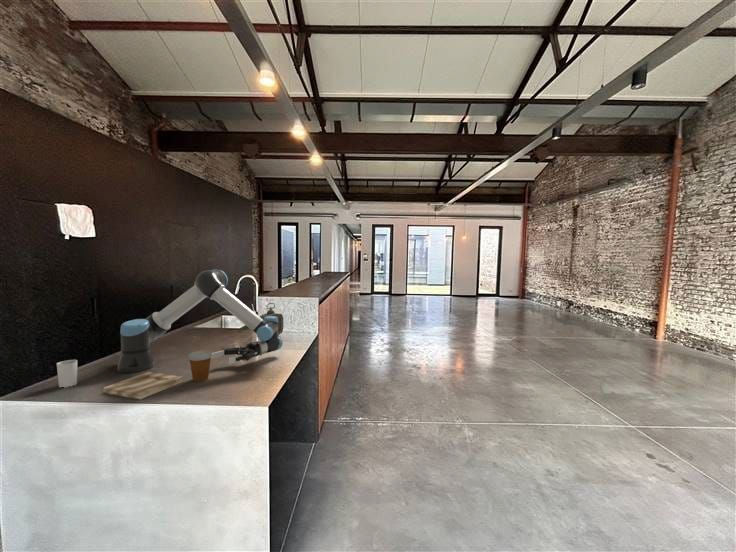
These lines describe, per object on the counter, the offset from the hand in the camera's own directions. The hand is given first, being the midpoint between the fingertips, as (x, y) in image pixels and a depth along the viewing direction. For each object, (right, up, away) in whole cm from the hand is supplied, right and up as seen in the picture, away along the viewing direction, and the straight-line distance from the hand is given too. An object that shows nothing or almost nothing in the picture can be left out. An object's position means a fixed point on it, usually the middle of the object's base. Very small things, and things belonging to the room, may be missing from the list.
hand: (220, 358), depth 162 cm
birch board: (-24, -8, -17) cm, 31 cm away
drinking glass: (-58, -8, -16) cm, 61 cm away
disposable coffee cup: (-5, -8, -8) cm, 12 cm away
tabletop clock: (+5, -4, +67) cm, 67 cm away
